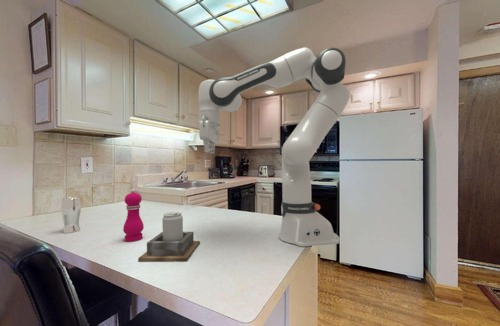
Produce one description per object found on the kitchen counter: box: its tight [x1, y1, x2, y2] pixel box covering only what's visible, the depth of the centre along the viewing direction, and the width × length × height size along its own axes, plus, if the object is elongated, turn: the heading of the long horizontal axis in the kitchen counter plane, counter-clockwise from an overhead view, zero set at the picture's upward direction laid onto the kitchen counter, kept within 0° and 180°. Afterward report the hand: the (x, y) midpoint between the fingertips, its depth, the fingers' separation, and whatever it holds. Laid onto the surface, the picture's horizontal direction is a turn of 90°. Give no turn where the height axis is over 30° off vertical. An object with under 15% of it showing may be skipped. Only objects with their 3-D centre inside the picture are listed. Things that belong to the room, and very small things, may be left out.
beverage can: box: [161, 211, 184, 241], centre depth 74 cm, size 6×6×12 cm
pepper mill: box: [122, 188, 145, 243], centre depth 88 cm, size 7×7×20 cm
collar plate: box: [137, 231, 201, 263], centre depth 74 cm, size 15×15×5 cm
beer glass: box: [60, 196, 82, 234], centre depth 100 cm, size 7×7×15 cm
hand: (209, 153), depth 92 cm, fingers open, 8 cm apart
